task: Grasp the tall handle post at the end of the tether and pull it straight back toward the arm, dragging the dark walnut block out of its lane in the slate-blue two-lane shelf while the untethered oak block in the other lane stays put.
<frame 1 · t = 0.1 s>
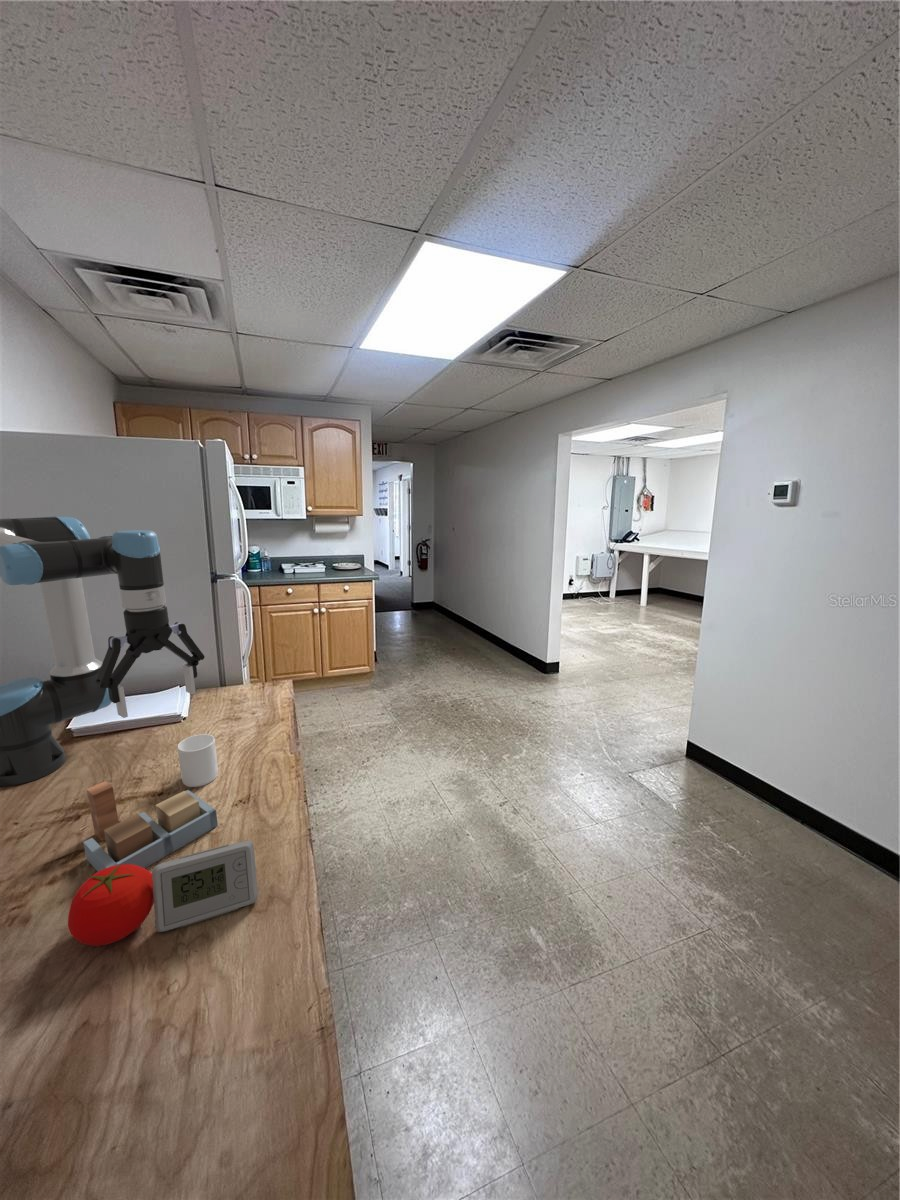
hand: (158, 703, 100), 28 cm above the table, fingers open, 13 cm apart
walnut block: (132, 857, 95), on the table
digital clock: (210, 909, 84), on the table
oak block: (181, 830, 102), resting in lane shelf
cup: (200, 774, 122), on the table
tomato: (118, 928, 80), on the table
lane shelf: (155, 841, 99), on the table
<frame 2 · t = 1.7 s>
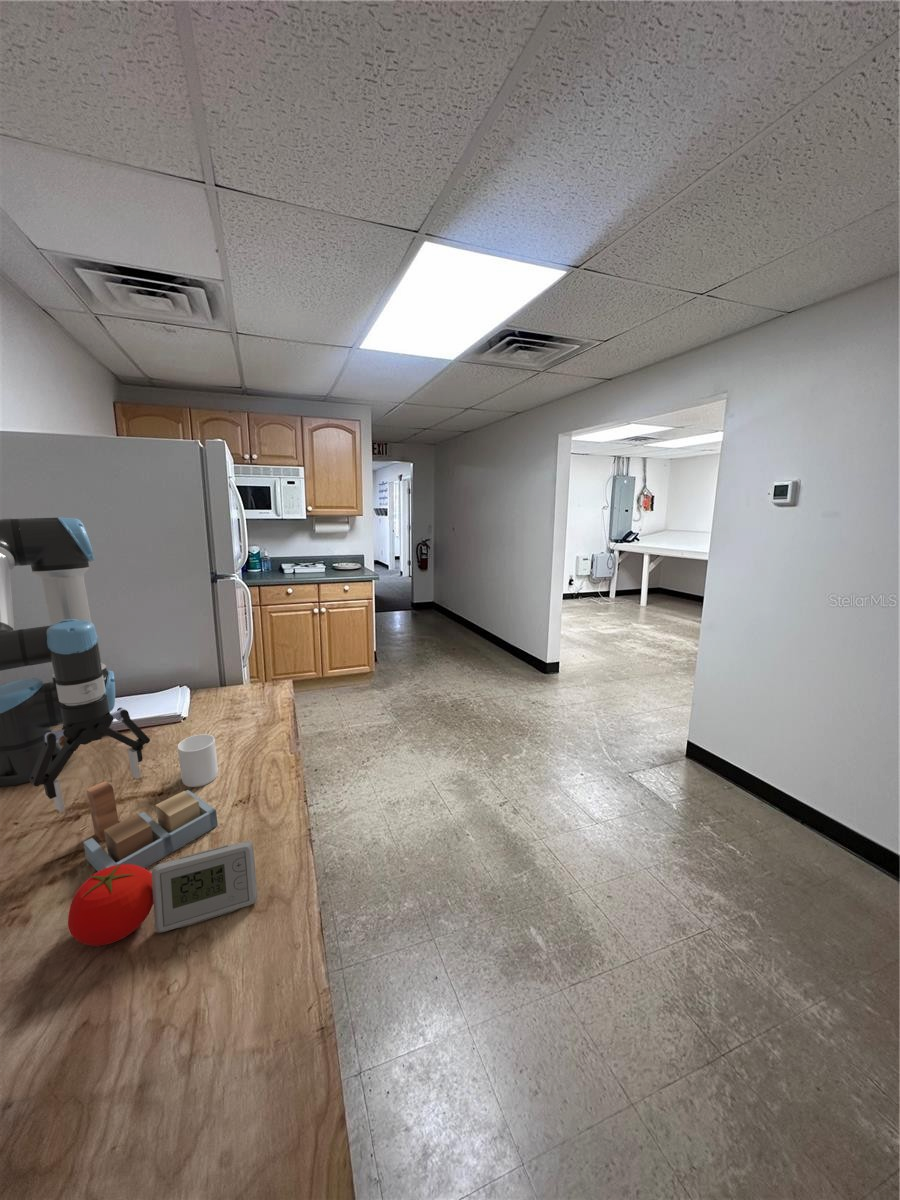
hand: (100, 792, 99), 10 cm above the table, fingers open, 13 cm apart
nothing on the table moved.
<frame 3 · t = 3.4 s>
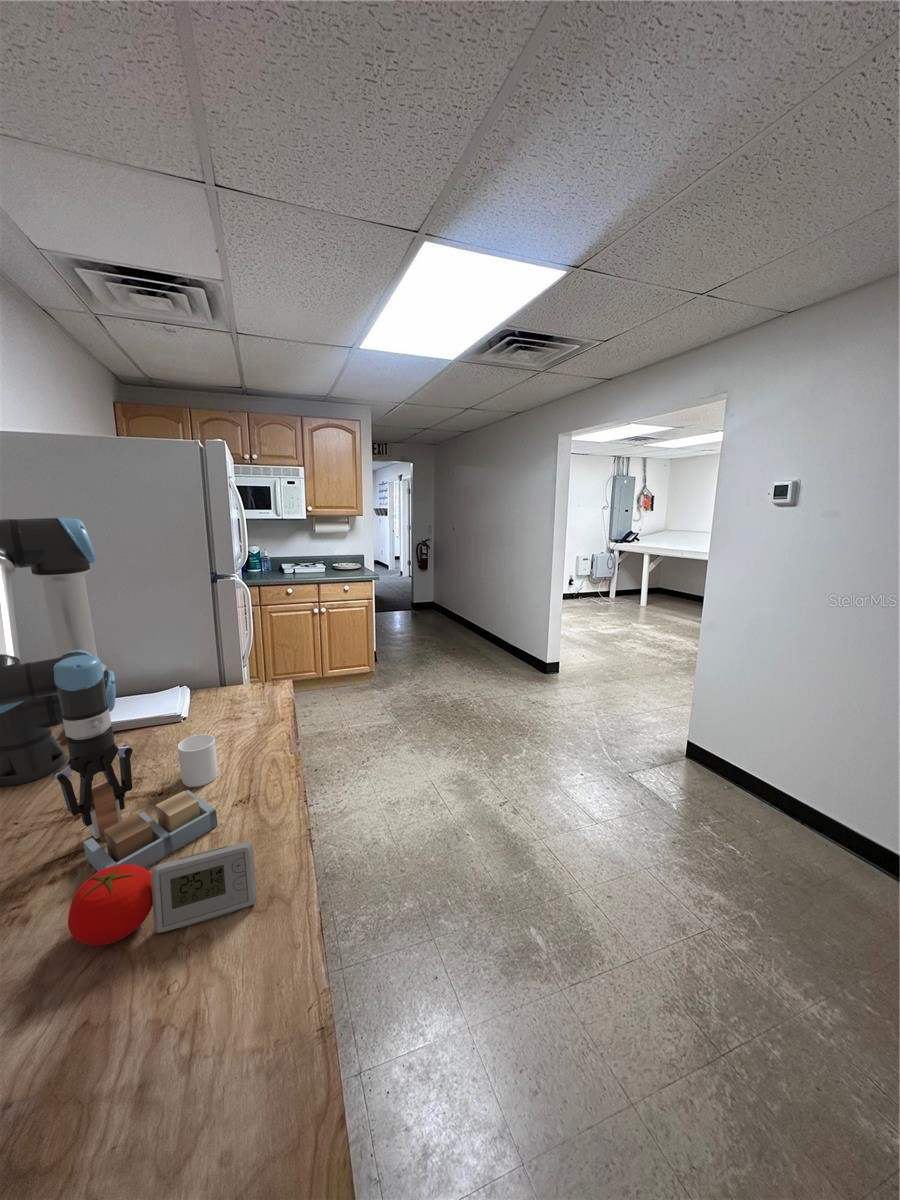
hand: (107, 829, 101), 1 cm above the table, fingers closed on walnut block, 3 cm apart
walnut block: (132, 857, 95), on the table, touching gripper
everything else where it was.
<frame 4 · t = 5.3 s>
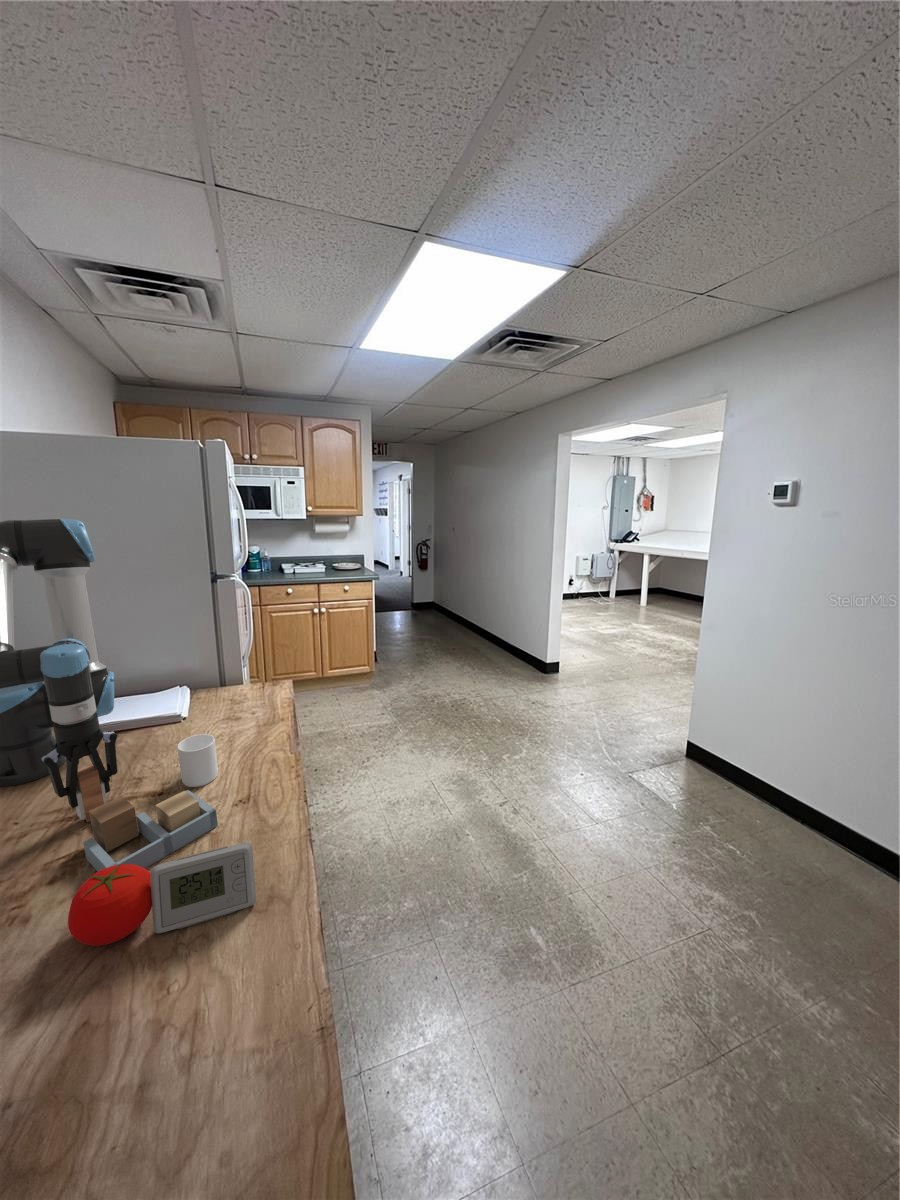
hand: (92, 811, 105), 2 cm above the table, fingers closed on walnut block, 3 cm apart
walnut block: (116, 837, 99), point 1 cm above the table, touching gripper
everything else where it was.
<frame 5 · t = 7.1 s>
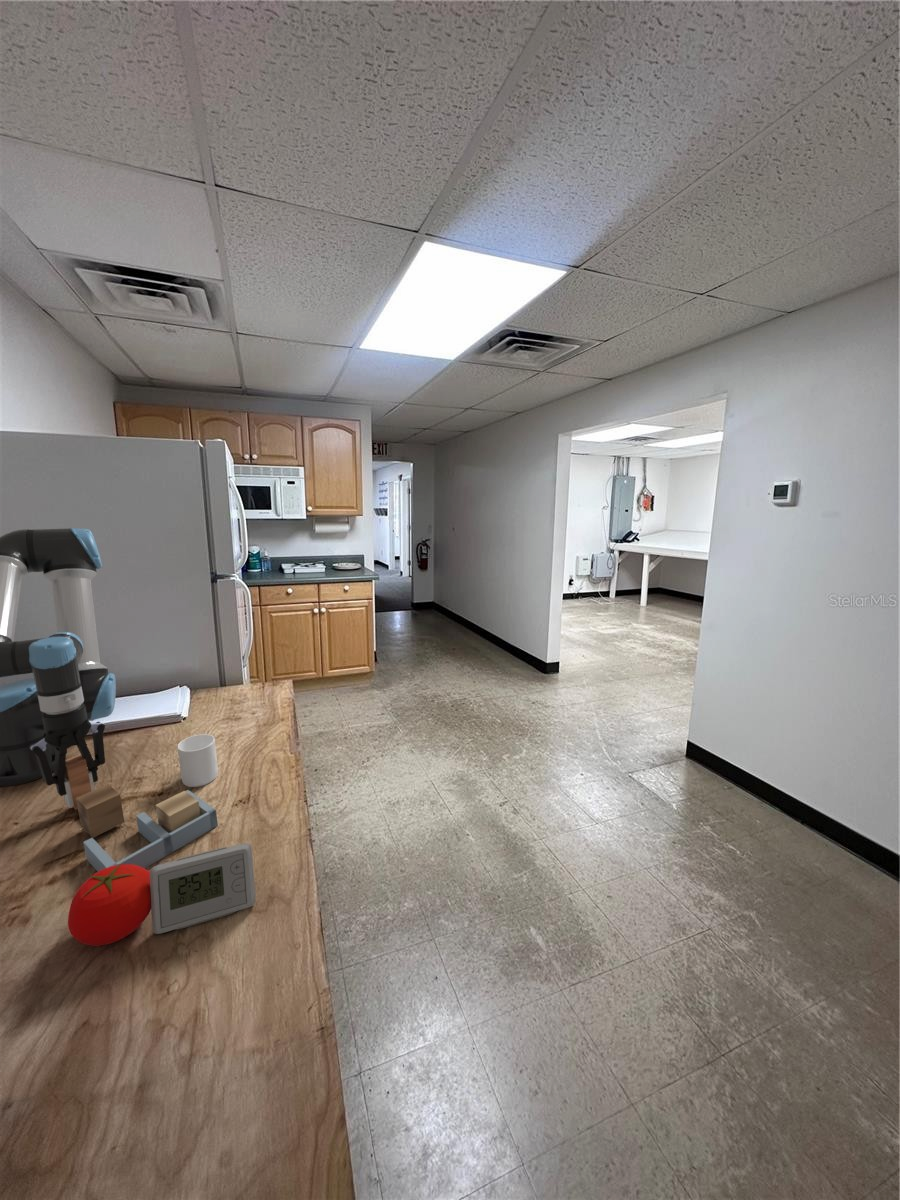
hand: (81, 799, 109), 2 cm above the table, fingers closed on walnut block, 3 cm apart
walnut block: (103, 824, 102), point 1 cm above the table, touching gripper
everything else where it was.
when the fingers open (1 cm above the table, at t = 7.6 s): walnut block stays where it is, on the table.
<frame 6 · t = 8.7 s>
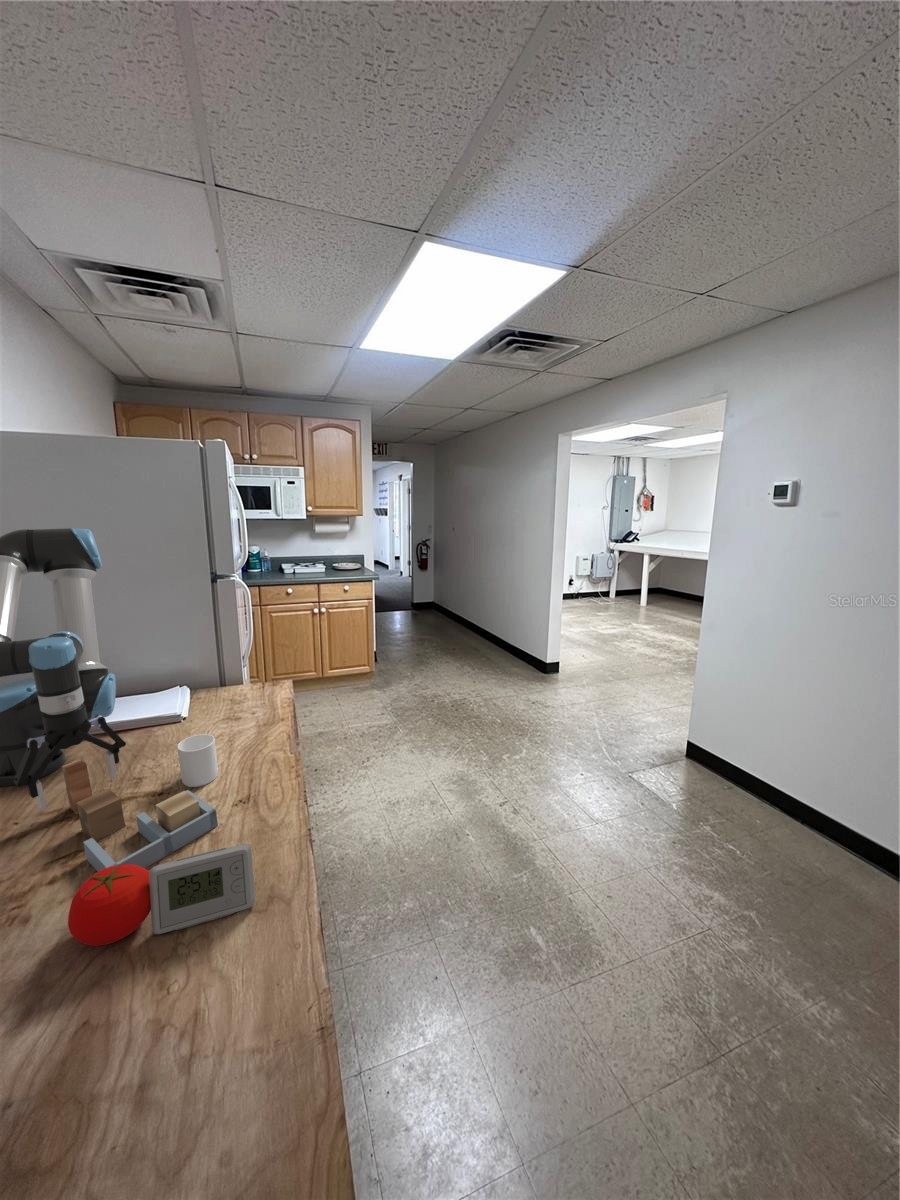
hand: (79, 791, 109), 4 cm above the table, fingers open, 13 cm apart
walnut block: (103, 828, 103), on the table
everything else where it was.
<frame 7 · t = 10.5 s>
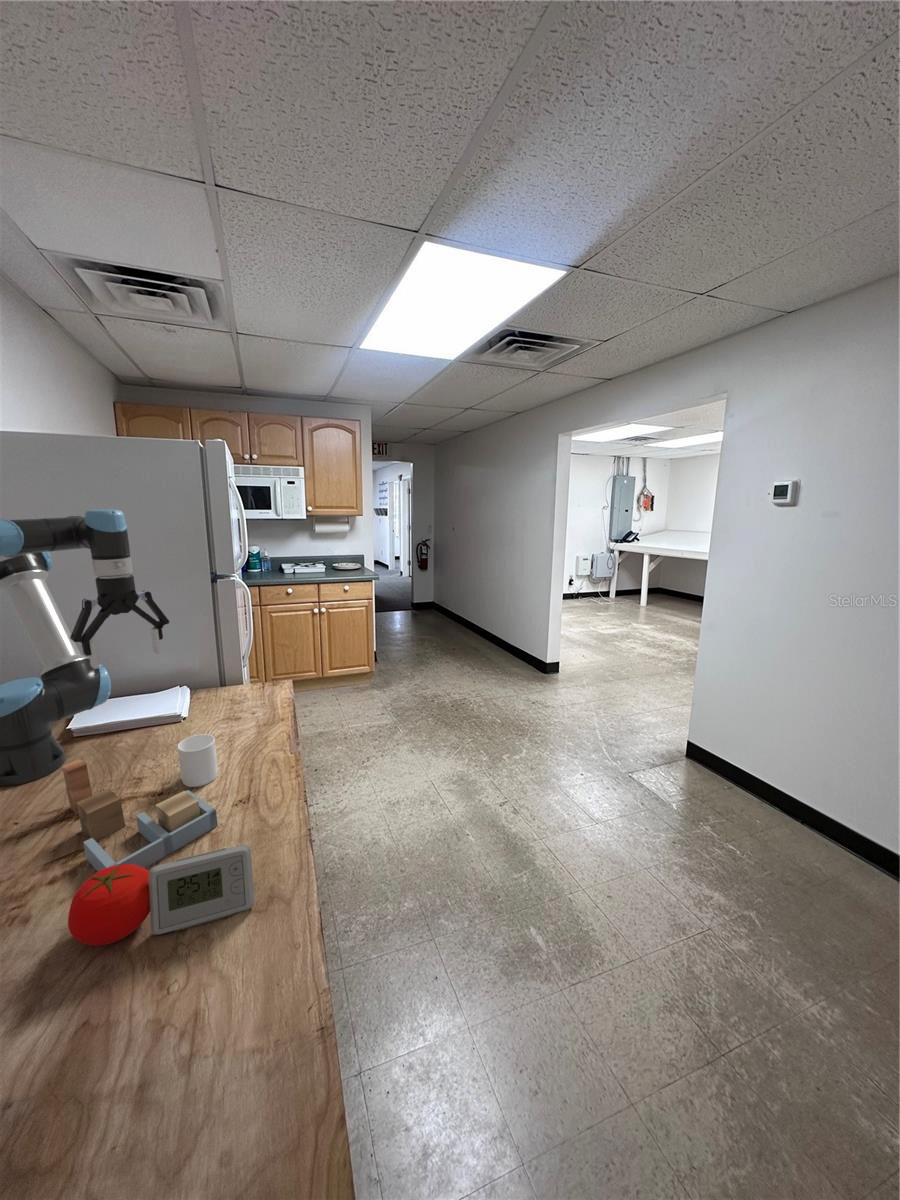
hand: (127, 659, 117), 31 cm above the table, fingers open, 13 cm apart
nothing on the table moved.
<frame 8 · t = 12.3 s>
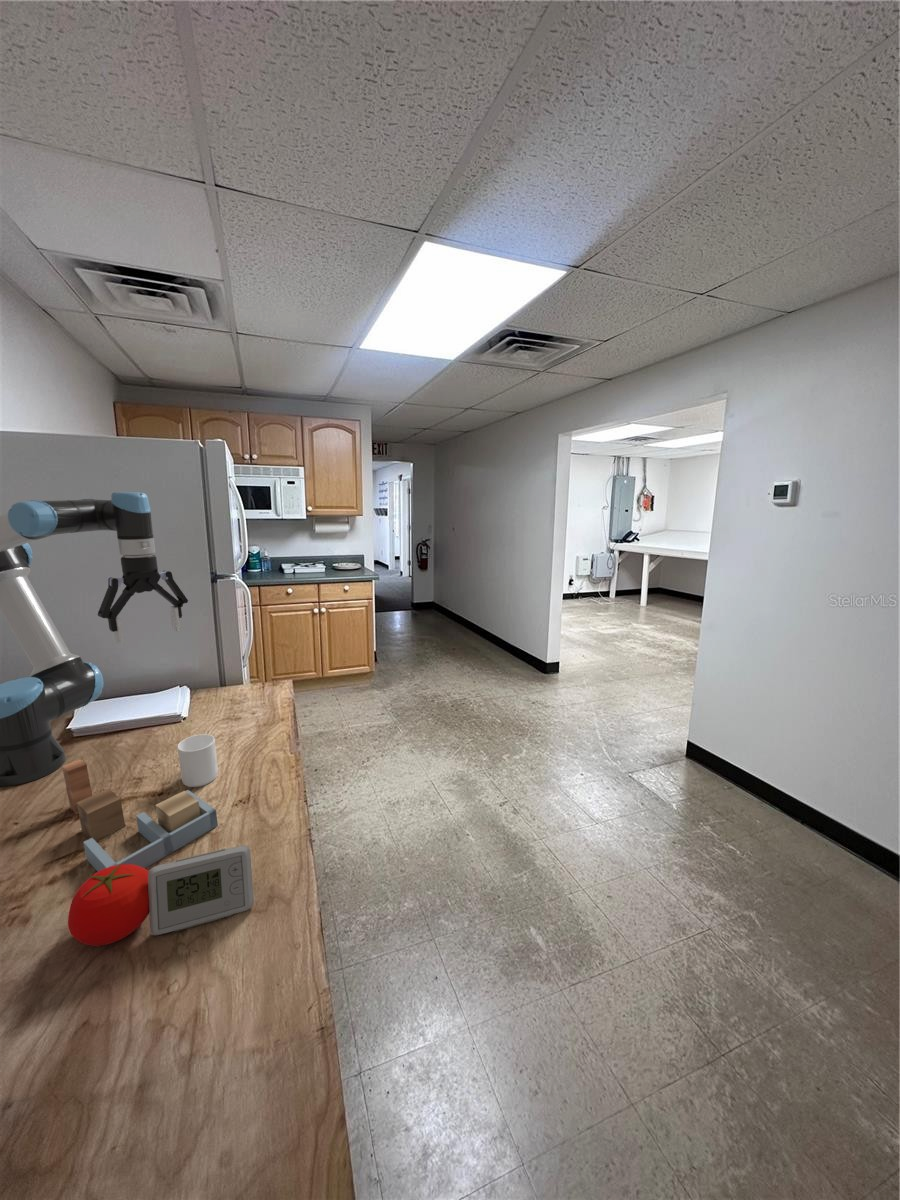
hand: (149, 636, 122), 35 cm above the table, fingers open, 13 cm apart
nothing on the table moved.
at the end: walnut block inside the target area (4.4 cm from its centre), on the table; the gripper is holding nothing; oak block inside the target area (0.1 cm from its centre), resting in lane shelf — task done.
